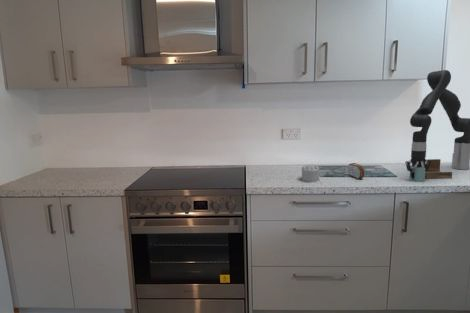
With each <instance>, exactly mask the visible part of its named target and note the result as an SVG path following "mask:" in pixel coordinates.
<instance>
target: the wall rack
mask: <svg viewBox="0 0 470 313" xmlns="http://www.w3.org/2000/svg"><path fill="white" fill-rule="evenodd" d="M427 160H428V161H430V162H431V163H430V166H429V168H428V171H425V180H434V179H435V180H437V179H452V178H453V172H451V171H441V170H440V169H441V160H442V159H441V158H440V159H439V158H432V159H427ZM423 165H424V166H425V163H424V164H423Z"/></svg>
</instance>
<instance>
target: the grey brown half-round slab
mask: <svg viewBox="0 0 470 313" xmlns="http://www.w3.org/2000/svg"><path fill="white" fill-rule="evenodd" d="M348 174H349V175H350V176H351V177H352V178H355V179H357V180H361V179H364V178H365V169H364V167H363V166H362V165H361V164H358V163H357V162H356V163H355V162H352V163H349V164H348Z"/></svg>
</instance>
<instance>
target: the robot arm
mask: <svg viewBox="0 0 470 313" xmlns="http://www.w3.org/2000/svg"><path fill="white" fill-rule="evenodd" d="M426 80H427V84H428V86H429V87H430V89H431V92H429V93H428V94H427V95H425V97H424V98H423V99H422V101H421V103H420V106H419V108H418V109H417V110H416V111H415V112H414V113H413V114H412V115H411V117H410V120H409V122H410V123H409V124H410V125H411V127H414V128H421V129H420V130H417V131H413V133H412V143H411V148H410V150H411V151H410V152H411V154H410V159H409V160H408V161H407V160H406V161H405V167H406V170H407V171H408V172H409V178H410V177H411V178H412V179H414V171H415V167H424V168H425V171H428V168H429V166H430V163H431V162H430V161H428V159H426V157H427V136H428V132H429V130H430V127H431V124H432V117H431V116H430V115H431V114H433V111H434V109H435V107H436V105H437V102H438V100H439V102H440V104H441V106H442V108H443V110H444V111H445V113H446V116H447V117H448V119H449V122H450V124H451V126H452V130H454V132H457V133H463V135H461V136H459V137H456V138H454V142H453V143H454V144H453V145H454V146H453V153H452V159H451V168H452V169H455V170H463V171H464V170H465V171H466V170H469V169H470V117H468V118H467V117H460V116H459V114H458V113H459V112H460V109H461V107H462V103H461V101H460V99H459V97H458V96H457V95H456V93H454V92H453V91H451V90H450V89H447V88H448V86H449V84H450V82H451V80H452V75H451V72H450V70H448V69H442V70H437V71H431V72H429V73H428V74H427V77H426ZM424 163H425V166H424V165H423V164H424ZM410 165H412V166H411V167H410ZM413 166H414V167H413ZM410 172H411V174H410ZM412 179H411V180H412Z"/></svg>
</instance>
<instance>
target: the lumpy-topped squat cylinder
mask: <svg viewBox="0 0 470 313" xmlns="http://www.w3.org/2000/svg"><path fill="white" fill-rule="evenodd" d="M301 181H302V182H305V181H306V183H317V181H318V182H319V181H320V168H319V166H318V165H313V164H310V165H309V164H306V165H303V166H302V167H301Z"/></svg>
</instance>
